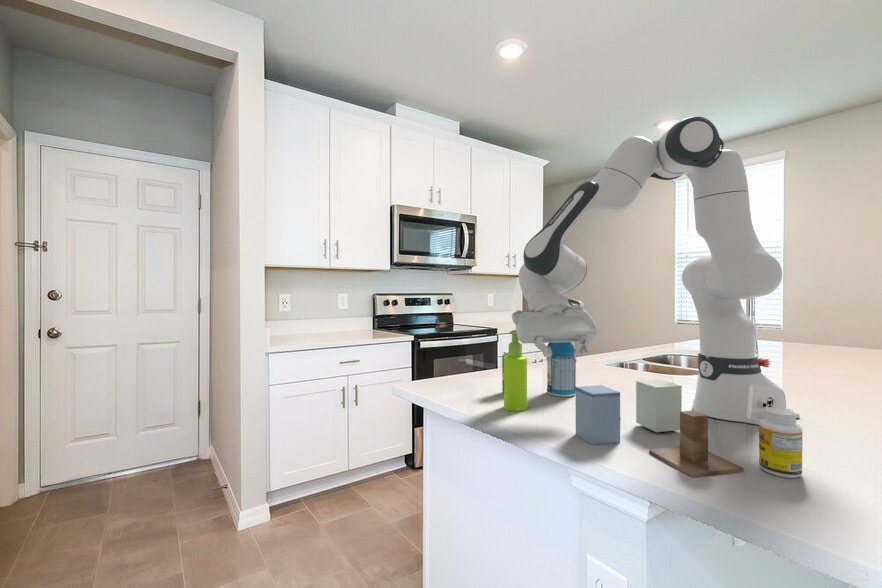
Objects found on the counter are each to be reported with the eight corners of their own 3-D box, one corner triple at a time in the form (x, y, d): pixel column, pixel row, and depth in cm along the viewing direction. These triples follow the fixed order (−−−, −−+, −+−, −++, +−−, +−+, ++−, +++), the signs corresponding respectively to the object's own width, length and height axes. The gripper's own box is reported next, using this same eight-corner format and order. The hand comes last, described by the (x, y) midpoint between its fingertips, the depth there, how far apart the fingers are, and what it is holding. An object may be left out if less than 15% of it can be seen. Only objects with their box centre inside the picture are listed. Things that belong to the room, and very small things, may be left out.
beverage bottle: (561, 399, 114) (561, 327, 113) (540, 392, 121) (540, 325, 121) (582, 395, 118) (582, 325, 118) (560, 388, 125) (560, 323, 125)
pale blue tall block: (602, 431, 88) (602, 385, 88) (620, 442, 82) (620, 392, 82) (575, 434, 86) (575, 386, 86) (592, 444, 80) (592, 394, 80)
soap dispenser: (531, 405, 107) (531, 329, 107) (522, 412, 101) (521, 332, 101) (510, 402, 110) (510, 328, 110) (500, 409, 105) (499, 331, 104)
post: (695, 448, 78) (695, 403, 78) (743, 471, 68) (743, 420, 68) (649, 453, 76) (649, 407, 76) (692, 477, 66) (692, 424, 66)
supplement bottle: (759, 461, 72) (759, 404, 72) (801, 470, 69) (802, 410, 68) (757, 473, 68) (758, 411, 68) (802, 483, 64) (803, 418, 64)
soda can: (519, 395, 118) (519, 354, 117) (501, 395, 119) (501, 353, 118) (519, 391, 122) (519, 351, 122) (502, 390, 123) (502, 351, 123)
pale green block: (660, 423, 93) (660, 379, 93) (681, 432, 87) (681, 385, 87) (636, 425, 92) (636, 380, 92) (656, 435, 86) (655, 387, 85)
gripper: (513, 302, 101) (529, 347, 91) (588, 301, 105) (611, 344, 96) (506, 319, 105) (521, 363, 96) (579, 317, 109) (600, 360, 100)
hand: (567, 354), depth 96 cm, fingers open, 8 cm apart
